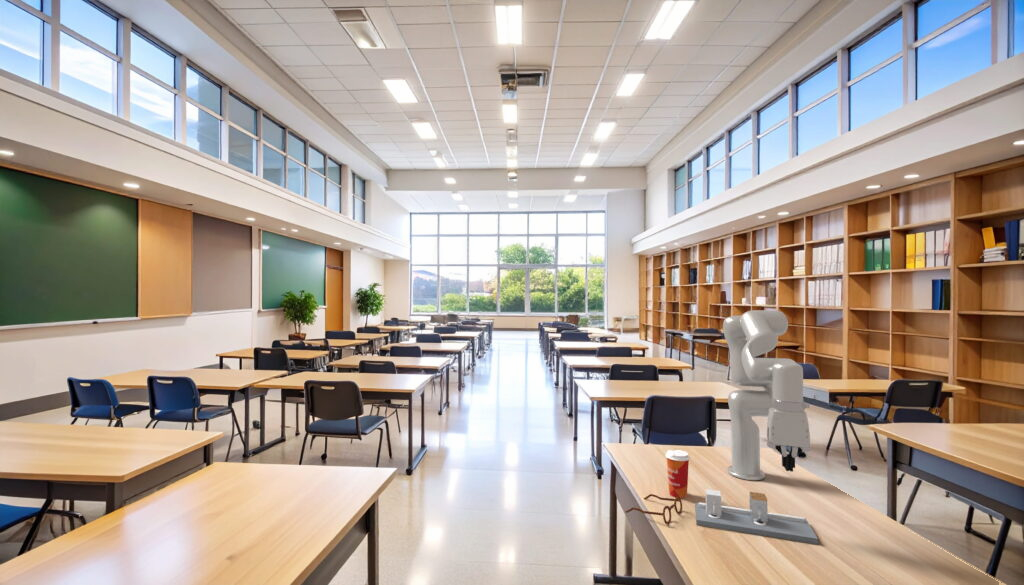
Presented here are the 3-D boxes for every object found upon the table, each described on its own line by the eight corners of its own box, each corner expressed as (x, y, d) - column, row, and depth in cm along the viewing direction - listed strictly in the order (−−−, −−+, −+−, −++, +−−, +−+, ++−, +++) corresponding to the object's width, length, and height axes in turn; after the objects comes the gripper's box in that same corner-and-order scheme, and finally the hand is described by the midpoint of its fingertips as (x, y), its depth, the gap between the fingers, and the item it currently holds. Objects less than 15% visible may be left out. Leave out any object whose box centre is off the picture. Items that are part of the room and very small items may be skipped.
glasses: (666, 527, 128) (665, 510, 128) (624, 513, 137) (624, 497, 137) (683, 511, 137) (683, 495, 138) (644, 499, 146) (643, 484, 146)
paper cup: (662, 490, 152) (661, 449, 153) (683, 489, 153) (683, 448, 153) (672, 500, 145) (671, 457, 145) (694, 499, 145) (694, 456, 146)
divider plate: (695, 507, 140) (694, 483, 140) (805, 523, 129) (805, 497, 129) (696, 524, 128) (696, 498, 129) (817, 544, 118) (817, 515, 118)
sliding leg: (749, 514, 131) (749, 491, 131) (765, 516, 130) (764, 493, 130) (752, 521, 127) (751, 498, 127) (768, 524, 125) (767, 500, 125)
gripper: (814, 404, 128) (815, 468, 127) (756, 400, 133) (756, 461, 133) (822, 411, 121) (823, 478, 120) (760, 406, 126) (761, 471, 126)
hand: (788, 469), depth 127 cm, fingers closed
